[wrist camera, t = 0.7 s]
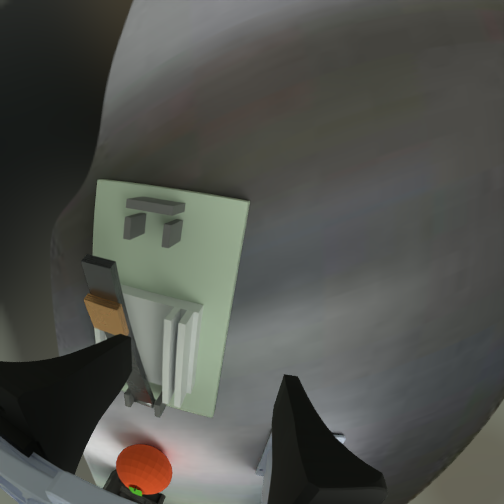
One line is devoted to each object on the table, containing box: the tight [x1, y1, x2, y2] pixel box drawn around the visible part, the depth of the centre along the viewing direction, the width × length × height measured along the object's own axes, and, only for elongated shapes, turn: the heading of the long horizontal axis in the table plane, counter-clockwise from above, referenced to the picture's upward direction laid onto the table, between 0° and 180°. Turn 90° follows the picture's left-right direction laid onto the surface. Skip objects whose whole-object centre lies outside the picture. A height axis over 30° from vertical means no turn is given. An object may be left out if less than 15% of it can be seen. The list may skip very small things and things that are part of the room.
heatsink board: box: [93, 179, 250, 418], centre depth 21 cm, size 20×12×5 cm, turn 170°
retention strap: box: [81, 254, 156, 408], centre depth 17 cm, size 16×2×1 cm, turn 171°
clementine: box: [116, 444, 172, 496], centre depth 25 cm, size 8×7×7 cm
